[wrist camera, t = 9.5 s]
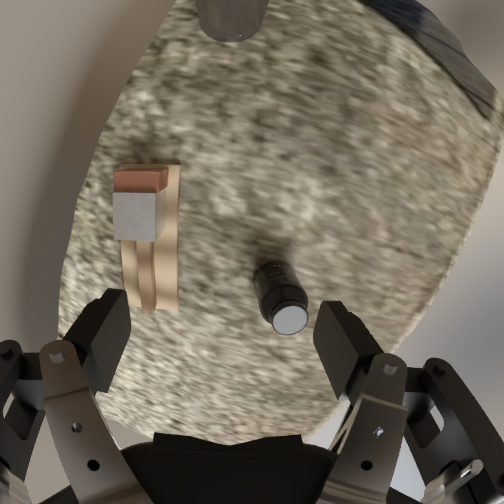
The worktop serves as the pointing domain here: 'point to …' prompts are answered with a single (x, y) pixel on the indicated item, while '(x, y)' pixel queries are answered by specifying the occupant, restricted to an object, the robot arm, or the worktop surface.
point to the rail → (160, 250)
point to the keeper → (138, 215)
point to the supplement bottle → (281, 298)
